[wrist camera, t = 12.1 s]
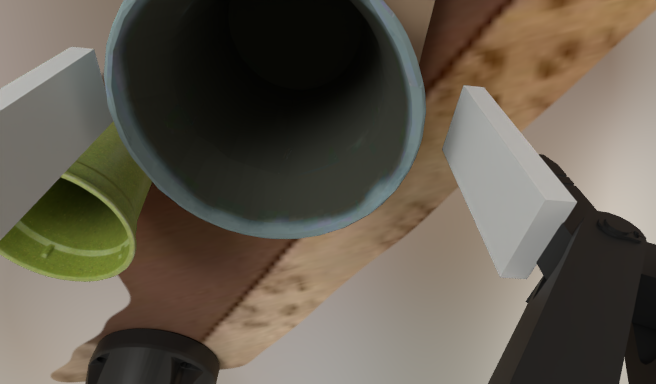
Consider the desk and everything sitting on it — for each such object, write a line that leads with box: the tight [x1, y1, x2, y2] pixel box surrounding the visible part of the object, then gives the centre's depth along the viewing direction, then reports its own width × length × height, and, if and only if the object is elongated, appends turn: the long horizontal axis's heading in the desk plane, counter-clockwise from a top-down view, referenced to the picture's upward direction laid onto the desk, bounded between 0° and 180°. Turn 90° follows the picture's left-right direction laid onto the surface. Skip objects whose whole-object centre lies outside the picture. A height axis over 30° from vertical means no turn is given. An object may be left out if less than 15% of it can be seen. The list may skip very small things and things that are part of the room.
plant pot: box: [0, 121, 152, 282], centre depth 25 cm, size 9×9×9 cm
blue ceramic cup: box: [104, 0, 426, 239], centre depth 17 cm, size 10×10×12 cm
